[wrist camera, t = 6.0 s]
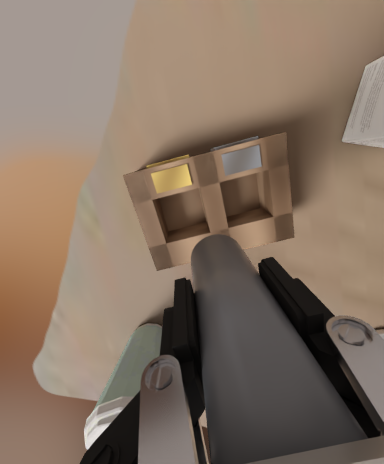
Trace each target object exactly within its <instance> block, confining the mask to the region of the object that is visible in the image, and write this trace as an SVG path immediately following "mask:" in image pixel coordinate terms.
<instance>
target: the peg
mask: <svg viewBox="0 0 384 464" xmlns="http://www.w3.org/2000/svg"><path fill="white" fill-rule="evenodd" d="M191 269H192V279H193V289H194V297H195V307H196V317H197V327H198V337H199V347H200V357H201V368H202V378H203V388H204V398H205V408H206V418H207V428H208V437H209V448H210V458H211V464H246V463H251V462H256V461H261V460H266V459H271V458H275V457H280V456H285V455H290V454H295V453H300V452H305V451H310V450H315V449H320V448H324V447H329V446H334V445H339V444H344V443H349V442H354V441H359V440H364V439H368V437H367V436H366V434H365V433H364V431H363V430H362V428H361V427H360V425H359V424H358V422H357V421H356V419H355V418H354V416H353V415H352V413H351V412H350V410H349V409H348V407H347V406H346V404H345V403H344V401H343V400H342V398H341V397H340V395H339V394H338V392H337V391H336V389H335V388H334V386H333V385H332V383H331V382H330V380H329V379H328V377H327V376H326V374H325V373H324V371H323V370H322V368H321V367H320V365H319V364H318V362H317V361H316V359H315V358H314V356H313V355H312V353H311V352H310V350H309V349H308V347H307V346H306V344H305V343H304V341H303V340H302V338H301V337H300V335H299V334H298V332H297V331H296V329H295V328H294V326H293V325H292V323H291V322H290V320H289V319H288V317H287V315H286V314H285V312H284V311H283V309H282V308H281V306H280V305H279V303H278V302H277V300H276V299H275V297H274V296H273V294H272V293H271V291H270V290H269V288H268V287H267V285H266V284H265V282H264V281H263V279H262V278H261V276H260V275H259V273H258V272H257V270H256V269H255V267H254V266H253V264H252V263H251V261H250V260H249V258H248V257H247V255H246V254H245V252H244V251H243V249H242V248H241V246H240V245H239V243H238V242H237V241H236V240H235V239H233V238H231V237H229V236H227V235H222V234H215V235H210V236H207V237H205V238H203V239H202V240H201V241H199V242H198V243H197V244H196V246H195V247H194V249H193V251H192V254H191Z"/></svg>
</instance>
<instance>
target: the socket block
mask: <svg viewBox="0 0 384 464" xmlns="http://www.w3.org/2000/svg"><path fill="white" fill-rule="evenodd" d="M210 151H211V152H207V153H203V154H199V155H196V156H192V157H189V154H188V155H184V156H181V157H177V158H173V159H169V160H166V161H162V162H158V163H155V164H151V165H147V166H146V167H147V169H143V170H139V171H136V172H132V173H129V174H126V175H123V177H124V180H125V183H126V186H127V188H128V191H129V194H130V197H131V199H132V202H133V205H134V208H135V211H136V213H137V216H138V219H139V222H140V225H141V227H142V230H143V233H144V236H145V239H146V241H147V244H148V247H149V250H150V253H151V255H152V258H153V261H154V264H155V267H156V269H157V271H158V270H162V269H166V268H171V267H175V266H179V265H183V264H187V263H191V254H192V251H193V249H194V247H195V246H196V244H197V243H198V242H199V241H201V240H202V239H203V238H205V237H207V236H210V235H215V234H222V235H227V236H229V237H231V238H233V239H235V240H236V241H237V242H238V243H239V245H240V246H241V248H242V249H243V250H245V249H249V248H253V247H257V246H261V245H265V244H269V243H273V242H278V241H282V240H286V239H290V238H294V227H293V214H292V201H291V189H290V176H289V163H288V151H287V138H286V132H283V133H279V134H275V135H271V136H267V137H263V138H259V139H258V136H255V137H252V138H248V139H244V140H240V141H237V142H233V143H229V144H225V145H222V146H218V147H214V148H211V149H210Z"/></svg>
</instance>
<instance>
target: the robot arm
mask: <svg viewBox="0 0 384 464" xmlns="http://www.w3.org/2000/svg"><path fill="white" fill-rule="evenodd" d="M258 267H259V274H260V276H261V278H262V279H263V281H264V282H265V284H266V285H267V287H268V288H269V290H270V291H271V293H272V294H273V296H274V297H275V299H276V300H277V302H278V303H279V305H280V306H281V308H282V309H283V311H284V312H285V314H286V315H287V317H288V319H289V320H290V322H291V323H292V325H293V326H294V328H295V329H296V331H297V332H298V334H299V335H300V337H301V338H302V340H303V341H304V343H305V344H306V346H307V347H308V349H309V350H310V352H311V353H312V355H313V356H314V358H315V359H316V361H317V362H318V364H319V365H320V367H321V368H322V370H323V371H324V373H325V374H326V376H327V377H328V379H329V380H330V382H331V383H332V385H333V386H334V388H335V389H336V391H337V392H338V394H339V395H340V397H341V398H342V400H343V401H344V403H345V404H346V406H347V407H348V409H349V410H350V412H351V413H352V415H353V416H354V418H355V419H356V421H357V422H358V424H359V425H360V427H361V428H362V430H363V431H364V433H365V434H366V436H367V437H368V439H364V440H359V441H354V442H349V443H344V444H339V445H334V446H329V447H324V448H320V449H315V450H310V451H305V452H300V453H295V454H290V455H285V456H280V457H275V458H271V459H266V460H261V461H256V462H251V463H246V464H384V329H380V330H375V329H374V328H373V327H371V326H370V325H369V324H368V323H366V322H364V321H362V320H360V319H358V318H355V317H351V316H334V315H333V314H332V313H331V311H330V310H329V309H328V308H327V307H326V306H325V305H324V304H323V303H322V302H321V301H320V300H319V299H318V298H317V297H316V296H315V295H314V294H313V293H312V292H311V291H310V290H309V289H308V288H307V286H306V285H305V284H304V283H303V282H302V281H301V280H300V279H298V278H295V279H293V278H292V277H291V276H290V275H289V274H288V273H287V272H286V271H285V270H284V269H283V267H282V266H281V265H280V264H279V263H278V262H277V261H276V260H275V259H274V258H273V257H270V258H266V259H262V260H261V263H258ZM204 410H205V398H204V388H203V378H202V368H201V357H200V347H199V337H198V327H197V317H196V307H195V297H194V292H193V288H192V285H191V281H190V279H189V280H186V278H181V279H177V280H175V289H174V307H170V308H166V309H165V310H164V316H163V326H162V336H161V346H160V356H158V357H156V358H154V359H153V360H152V361H151V362H150V363H149V364H148V365H147V366H146V367H145V369H144V371H143V373H142V377H141V386H140V391H139V392H138V393H137V394H136V395H135V396H134V398H133V399H132V400H131V401H130V402H129V403H128V404H127V405H126V407H125V408H124V409H123V410H122V411H121V412H120V413H119V414H118V416H117V417H116V418H115V419H114V420H113V421H112V422H111V423H110V425H109V426H108V427H107V428H106V429H105V430H104V431H103V432H102V434H101V435H100V436H99V437H98V438H97V439H96V440H95V441H94V443H93V444H92V445H91V446H90V447H89V449H88V450H87V451H86V453H85V454H84V456H83V458H82V460H81V462H80V464H209V462H208V457H207V452H206V447H205V442H204V438H203V432H202V427H201V422H200V416H201V415H202V413H203V412H204Z"/></svg>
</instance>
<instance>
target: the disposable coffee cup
mask: <svg viewBox="0 0 384 464" xmlns="http://www.w3.org/2000/svg"><path fill="white" fill-rule="evenodd" d="M161 336H162V326H160V325H158V324H152V323H147V324H144V325H142V326H139V327H138V328H137V329H136V330H135V331H134V333H133V334H132V335H131V337H130V339H129V341H128V343H127V345H126V347H125V349H124V351H123V353H122V355H121V357H120V359H119V361H118V363H117V365H116V367H115V369H114V371H113V373H112V375H111V377H110V379H109V381H108V383H107V385H106V387H105V389H104V391H103V392H102V394H101V396H100V398H99V400H98V403H97V404H96V407H95V408H94V410H93V412H92V414H91V415H90V416H89V417H88V419H87V420H86V426H85V428H84V436H85V446H86V449H87V450H88V449H89V447H90V446H91V445H92V444H93V443H94V441H95V440H96V439H97V438H98V437H99V436H100V435H101V434H102V432H103V431H104V430H105V429H106V428H107V427H108V426H109V425H110V423H111V422H112V421H113V420H114V419H115V418H116V417H117V416H118V414H119V413H120V412H121V411H122V410H123V409H124V408H125V407H126V405H127V404H128V403H129V402H130V401H131V400H132V399H133V398H134V396H135V395H136V394H137V393H138V392H139V391H140V386H141V377H142V373H143V371H144V369H145V367H146V366H147V365H148V364H149V363H150V362H151V361H152V360H153V359H154V358H156V357H158V356H160V346H161Z"/></svg>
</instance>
